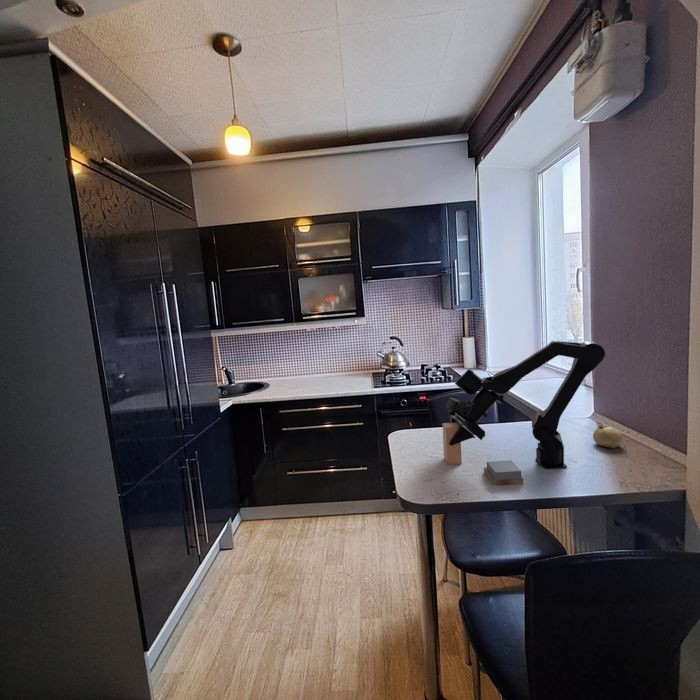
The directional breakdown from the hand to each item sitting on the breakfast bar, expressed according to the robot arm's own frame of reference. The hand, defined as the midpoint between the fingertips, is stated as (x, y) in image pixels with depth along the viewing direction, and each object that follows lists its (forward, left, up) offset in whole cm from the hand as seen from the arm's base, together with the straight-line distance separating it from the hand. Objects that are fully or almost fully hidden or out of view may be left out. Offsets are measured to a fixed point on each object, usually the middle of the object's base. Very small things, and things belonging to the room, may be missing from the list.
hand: (447, 441), depth 117 cm
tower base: (-12, +13, -7) cm, 19 cm away
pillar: (-1, 0, -7) cm, 7 cm away
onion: (-53, -5, -7) cm, 54 cm away
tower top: (-13, +13, -5) cm, 19 cm away
